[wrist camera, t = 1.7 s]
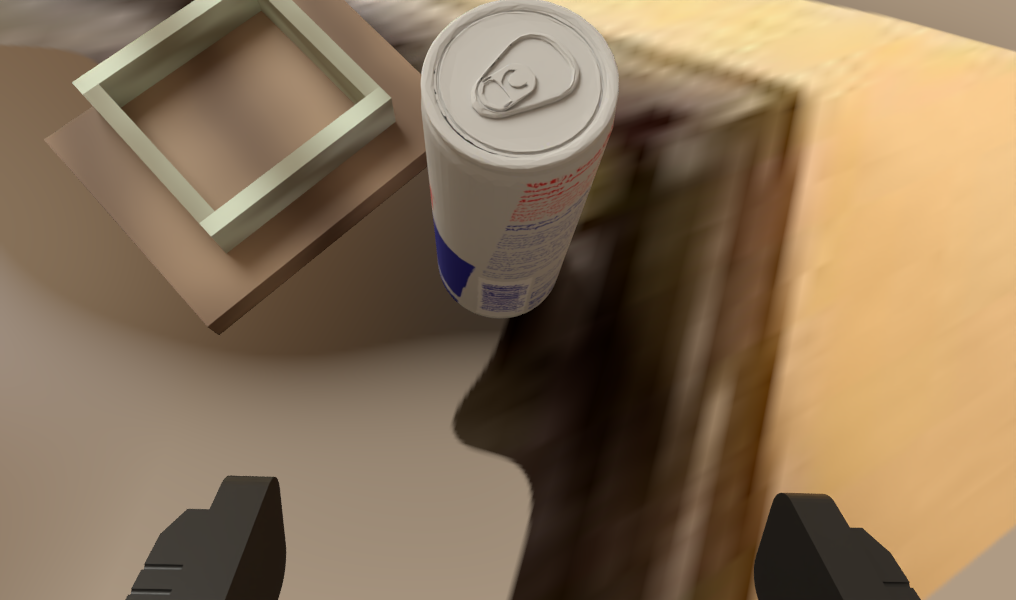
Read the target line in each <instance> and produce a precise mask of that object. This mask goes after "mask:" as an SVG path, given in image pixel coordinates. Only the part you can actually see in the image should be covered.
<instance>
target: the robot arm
mask: <svg viewBox="0 0 1016 600" xmlns="http://www.w3.org/2000/svg"><path fill="white" fill-rule="evenodd" d="M285 564H286V542H285V534H284V524H283V514H282V505H281V496H280V487H279V482H278V479H277V478H276V477H257V476H255V477H254V476H227V477H226V478H225V479H224V480H223V482H222V484H221V486H220V488H219V490H218V492H217V495H216V497H215V499H214V501H213V503H212V505H211V507H210V509H209V510H207V509H187V510H186V511H185V512H184V513H183V514H182V515H180V516H179V517H178V518H177V519H176V520H175V521H174V522H173V523H172V524H171V525H170V526H169V527H167V528H166V529H165V530H164V531H163V532H162V533H161V534H160V535H159V537H158V539H157V541H156V543H155V545H154V547H153V549H152V551H151V553H150V554H149V556H148V558H147V560H146V562H145V567H144V570H141V572H140V573H139V575H138V577H137V579H136V581H135V583H134V585H133V587H132V591H131V594H130V595H128V596H127V598H126V600H278V598H279V594H280V591H281V587H282V583H283V579H284V572H285ZM754 582H755V588H756V593H757V597H758V600H921V599H920V598H919V596H918V595H917V593H916V592H915V590H914V589H913V588H910V586H909V581H908V579H907V578H906V576H905V575H904V573H903V571H902V570H901V568H900V567H899V565H898V564H897V562H896V561H895V559H894V557H893V556H892V554H891V553H890V552H889V551H888V550H887V549H885V548H884V547H883V546H882V545H881V544H880V543H879V542H877V541H876V540H875V539H874V538H873V537H872V536H871V535H870V534H868V533H867V532H866V531H865V530H864V529H863V528H850V527H849V525H848V524H847V522H846V520H845V519H844V517H843V515H842V514H841V512H840V511H839V509H838V507H837V506H836V504H835V502H834V501H833V499H832V498H831V497H830V496H828V495H826V494H804V493H779V494H777V495H776V496H775V498H774V500H773V503H772V506H771V509H770V512H769V516H768V519H767V522H766V526H765V529H764V532H763V535H762V539H761V542H760V545H759V548H758V552H757V555H756V559H755V564H754Z"/></svg>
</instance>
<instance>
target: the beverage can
mask: <svg viewBox="0 0 1016 600" xmlns="http://www.w3.org/2000/svg"><path fill="white" fill-rule="evenodd" d="M618 94H619V74H618V69H617V65H616V62H615V58H614V55H613V53H612V52H611V50H610V48H609V46H608V44H607V42H606V41H605V39H604V38H603V37H602V35H601V34H600V33H599V32H598V31H597V30H596V29H595V28H594V27H593V26H592V25H591V24H590V23H588V22H587V21H586V20H585V19H583V18H582V17H581V16H579V15H578V14H576V13H574V12H572V11H570V10H569V9H567V8H565V7H562V6H559V5H556V4H553V3H551V2H546V1H542V0H498V1H494V2H489V3H486V4H483V5H480V6H478V7H476V8H473V9H471V10H469V11H467V12H466V13H464V14H462V15H461V16H459V17H458V18H456V19H455V20H453V21H452V22H451V23H450V24H449V25H448V26H447V27H446V28H445V29H444V30H443V31H442V32H441V33H440V34H439V35H438V36H437V38H436V39H435V40H434V42H433V43H432V45H431V47H430V49H429V51H428V53H427V55H426V58H425V61H424V64H423V68H422V74H421V111H422V120H423V129H424V138H425V147H426V156H427V166H428V174H429V184H430V193H431V202H432V211H433V220H434V229H435V238H436V246H437V255H438V265H439V272H440V276H441V279H442V281H443V284H444V286H445V288H446V289H447V291H448V292H449V294H450V295H451V296H452V297H453V299H455V301H456V302H458V303H459V304H460V305H461V306H463V307H464V308H465V309H467V310H469V311H471V312H473V313H475V314H478V315H481V316H484V317H489V318H511V317H516V316H519V315H522V314H524V313H527V312H529V311H530V310H532V309H534V308H535V307H537V306H538V305H539V304H540V303H541V302H543V301H544V300H545V298H546V297H547V296H548V295H549V293H550V292H551V291H552V289H553V287H554V285H555V283H556V280H557V277H558V274H559V272H560V269H561V266H562V263H563V261H564V258H565V255H566V253H567V250H568V247H569V245H570V242H571V239H572V236H573V234H574V231H575V228H576V226H577V223H578V220H579V217H580V215H581V212H582V209H583V207H584V204H585V201H586V199H587V196H588V193H589V190H590V188H591V185H592V182H593V180H594V177H595V174H596V172H597V169H598V166H599V163H600V161H601V158H602V155H603V153H604V150H605V147H606V145H607V142H608V139H609V136H610V134H611V131H612V128H613V123H614V117H615V111H616V105H617V100H618Z"/></svg>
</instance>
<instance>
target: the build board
mask: <svg viewBox="0 0 1016 600" xmlns="http://www.w3.org/2000/svg"><path fill="white" fill-rule="evenodd" d="M72 83H73V84H74V85H75V86H76V88H77V89H78V90H79V91H80V92H81V93H82V94H83V95H84V96H85V98H86V99H87V100H88V101H89V102H90V103H91V104H92V105H93V107H91V108H90V109H88V110H87V111H85V112H84V113H82V114H81V115H79V116H78V117H76V118H75V119H74V120H72V121H71V122H69V123H68V124H66V125H65V126H63V127H62V128H60V129H59V130H58V131H56V132H55V133H53V134H52V135H50V136H49V137H47V138H46V139H45V141H46V142H47V144H48V145H49V146H50V147H51V148H52V149H53V151H54V152H55V153H56V154H57V155H58V156H59V157H60V158H61V159H62V161H63V162H64V163H65V164H66V165H67V166H68V168H69V169H70V170H71V171H72V172H73V173H74V175H75V176H76V177H77V178H78V179H79V180H80V181H81V182H82V184H83V185H84V186H85V187H86V188H87V189H88V190H89V192H90V193H91V194H92V195H93V196H94V197H95V199H96V200H97V201H98V202H99V203H100V204H101V205H102V207H103V208H104V209H105V210H106V211H107V212H108V213H109V215H110V216H111V217H112V218H113V219H114V220H115V221H116V222H117V224H118V225H119V226H120V227H121V228H122V229H123V231H124V232H125V233H126V234H127V235H128V236H129V237H130V239H131V240H132V241H133V242H134V243H135V244H136V246H137V247H138V248H139V249H140V250H141V251H142V252H143V253H144V255H145V256H146V257H147V258H148V259H149V260H150V261H151V263H152V264H153V265H154V266H155V267H156V268H157V269H158V270H159V272H160V273H161V274H162V275H163V276H164V278H165V279H166V280H167V281H168V282H169V283H170V284H171V285H172V287H173V288H174V289H175V290H176V291H177V292H178V294H179V295H180V296H181V297H182V298H183V299H184V300H185V302H186V303H187V304H188V305H189V306H190V307H191V308H192V310H193V311H194V312H195V313H196V314H197V315H198V316H199V318H200V319H201V320H202V321H203V322H204V323H205V324H206V326H208V327H209V328H210V329H211V330H213V331H214V332H215V333H217V334H218V335H220V334H221V333H222V332H224V331H225V330H226V329H227V328H228V327H230V326H231V325H232V324H233V323H235V322H236V321H237V320H238V319H240V318H241V317H242V316H243V315H244V314H246V313H247V312H248V311H249V310H251V309H252V308H253V307H254V306H256V305H257V304H258V303H259V302H261V301H262V300H263V299H264V298H265V297H267V296H268V295H269V294H270V293H272V292H273V291H274V290H275V289H276V288H278V287H279V286H280V285H281V284H283V283H284V282H285V281H286V280H288V279H289V278H290V277H291V276H293V275H294V274H295V273H296V272H297V271H299V270H300V269H301V268H302V267H303V266H305V265H306V264H307V263H309V262H310V261H311V260H312V259H314V258H315V257H316V256H317V255H319V254H320V253H321V252H322V251H323V250H325V249H326V248H327V247H328V246H330V245H331V244H332V243H333V242H335V241H336V240H337V239H338V238H339V237H341V236H342V235H343V234H344V233H345V232H347V231H348V230H349V229H351V228H352V227H353V226H354V225H356V224H357V223H358V222H359V221H360V220H362V219H363V218H364V217H365V216H367V215H368V214H369V213H370V212H372V211H373V210H374V209H375V208H376V207H378V206H379V205H380V204H381V203H383V202H384V201H385V200H386V199H388V198H389V197H390V196H391V195H392V194H394V193H395V192H396V191H397V190H398V189H400V188H401V187H402V186H404V185H405V184H406V183H407V182H409V181H410V180H411V179H412V178H413V177H415V176H416V175H417V174H418V173H420V172H421V171H422V170H423V169H425V168H426V167H427V156H426V147H425V138H424V129H423V120H422V111H421V74H420V73H419V72H418V71H417V70H416V69H415V68H414V67H413V66H412V65H411V64H410V63H408V62H407V61H406V60H405V59H404V58H403V57H402V56H401V55H400V54H399V53H398V52H397V51H396V50H395V49H394V48H393V47H392V46H391V45H390V44H389V43H388V42H387V41H386V40H385V39H384V38H383V37H382V36H381V35H379V34H378V33H377V32H376V31H375V30H374V29H373V28H372V27H371V26H370V25H369V24H368V23H367V22H366V21H365V20H364V19H363V18H362V17H361V16H360V15H359V14H358V13H357V12H356V11H355V10H354V9H353V8H352V7H350V6H349V5H348V4H347V3H346V2H345V1H344V0H195V1H193V2H192V3H190V4H189V5H187V6H186V7H184V8H183V9H181V10H180V11H178V12H177V13H175V14H174V15H172V16H171V17H169V18H168V19H166V20H165V21H163V22H162V23H160V24H159V25H157V26H156V27H154V28H153V29H151V30H150V31H148V32H147V33H145V34H144V35H142V36H141V37H139V38H138V39H136V40H135V41H133V42H132V43H130V44H129V45H127V46H126V47H124V48H123V49H121V50H120V51H118V52H117V53H115V54H114V55H112V56H111V57H109V58H108V59H106V60H105V61H103V62H102V63H100V64H99V65H97V66H96V67H94V68H93V69H91V70H90V71H89V72H87V73H86V74H84V75H82V76H81V77H79V78H78V79H76V80H75V81H74V82H72Z"/></svg>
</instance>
